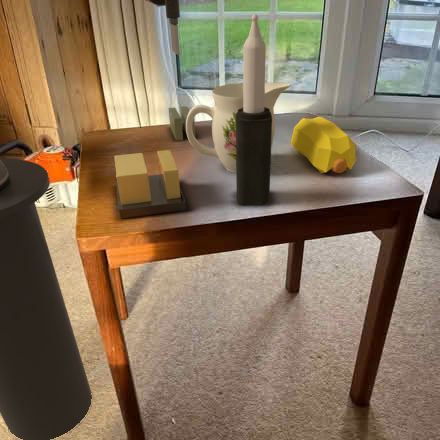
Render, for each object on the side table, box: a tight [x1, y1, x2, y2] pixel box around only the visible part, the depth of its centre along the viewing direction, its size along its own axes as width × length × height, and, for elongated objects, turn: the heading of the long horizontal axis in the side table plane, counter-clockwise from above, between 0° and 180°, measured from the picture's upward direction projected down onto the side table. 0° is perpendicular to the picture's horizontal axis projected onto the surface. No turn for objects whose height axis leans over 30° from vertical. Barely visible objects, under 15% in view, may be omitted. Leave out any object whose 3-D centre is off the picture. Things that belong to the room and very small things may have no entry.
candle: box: [235, 14, 272, 206], centre depth 64 cm, size 5×5×25 cm
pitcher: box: [186, 82, 292, 174], centre depth 79 cm, size 11×18×14 cm, turn 93°
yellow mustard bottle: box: [290, 116, 356, 174], centre depth 82 cm, size 18×7×8 cm
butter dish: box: [114, 149, 187, 220], centre depth 71 cm, size 12×10×6 cm
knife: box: [165, 0, 181, 56], centre depth 86 cm, size 6×3×15 cm, turn 13°
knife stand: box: [168, 106, 196, 141], centre depth 99 cm, size 9×4×4 cm, turn 13°
